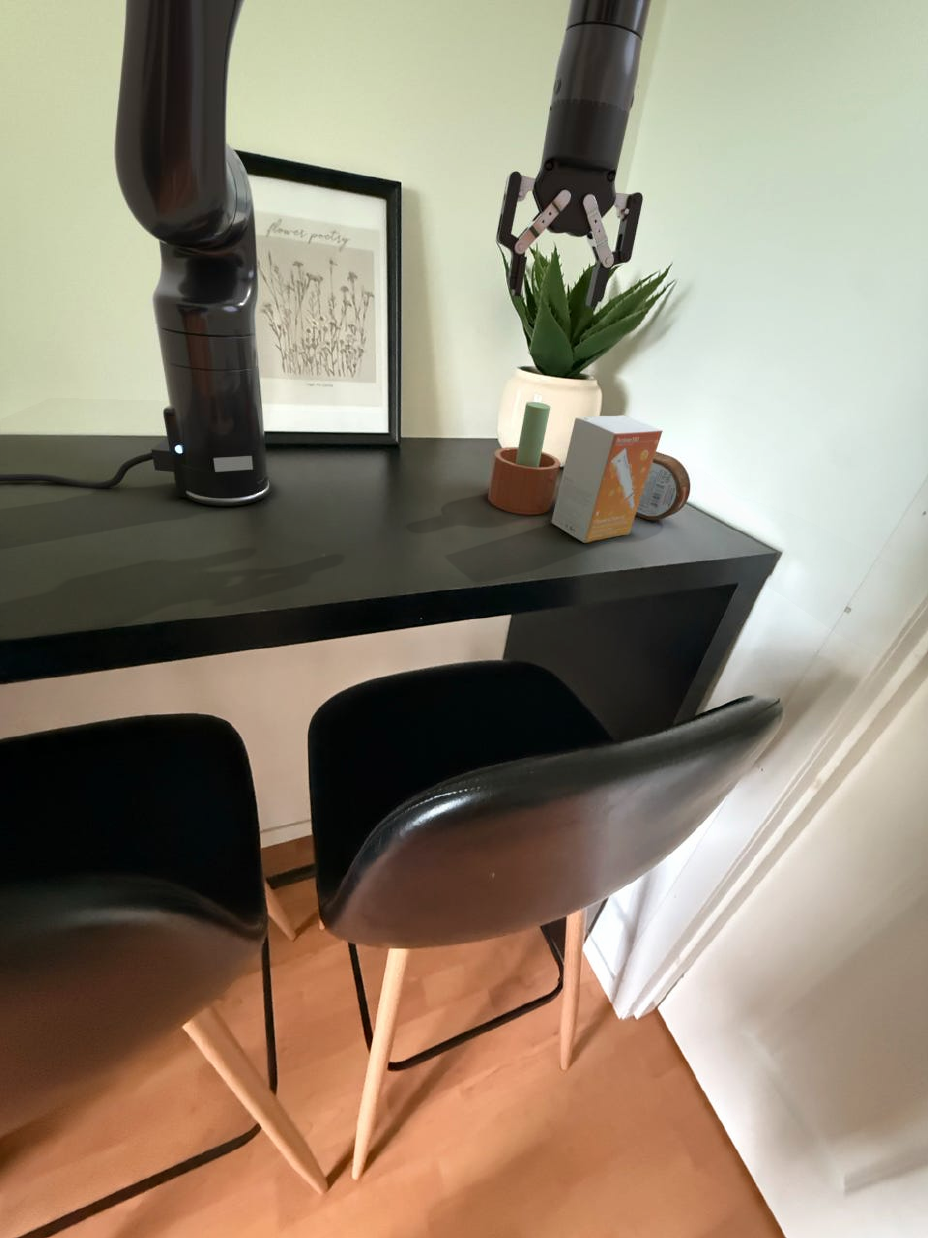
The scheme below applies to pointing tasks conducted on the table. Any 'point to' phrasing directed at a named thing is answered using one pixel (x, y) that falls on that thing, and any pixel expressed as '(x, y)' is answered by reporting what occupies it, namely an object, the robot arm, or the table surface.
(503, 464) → the holder
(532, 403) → the candle
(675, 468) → the tin
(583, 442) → the small box
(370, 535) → the table surface
